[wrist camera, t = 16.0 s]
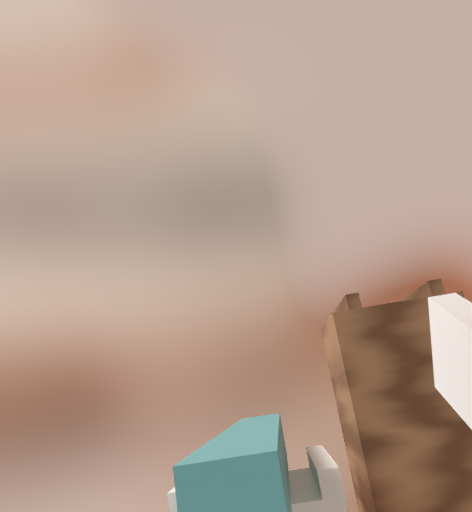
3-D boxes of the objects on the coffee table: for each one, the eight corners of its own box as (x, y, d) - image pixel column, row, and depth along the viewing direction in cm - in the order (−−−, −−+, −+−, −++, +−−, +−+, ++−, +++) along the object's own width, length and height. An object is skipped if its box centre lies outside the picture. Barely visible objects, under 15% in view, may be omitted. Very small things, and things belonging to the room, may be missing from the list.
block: (185, 588, 13) (173, 466, 14) (247, 460, 37) (241, 419, 38) (297, 573, 13) (277, 450, 14) (286, 454, 36) (279, 413, 37)
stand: (444, 822, 26) (329, 297, 35) (400, 707, 36) (318, 317, 45) (621, 802, 26) (457, 275, 35) (528, 691, 35) (419, 300, 45)
